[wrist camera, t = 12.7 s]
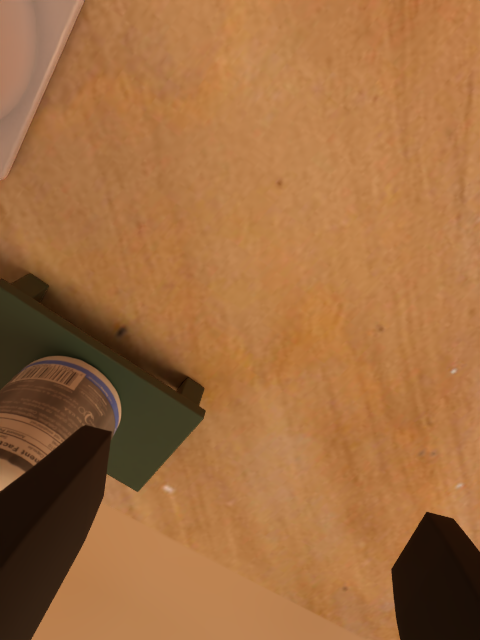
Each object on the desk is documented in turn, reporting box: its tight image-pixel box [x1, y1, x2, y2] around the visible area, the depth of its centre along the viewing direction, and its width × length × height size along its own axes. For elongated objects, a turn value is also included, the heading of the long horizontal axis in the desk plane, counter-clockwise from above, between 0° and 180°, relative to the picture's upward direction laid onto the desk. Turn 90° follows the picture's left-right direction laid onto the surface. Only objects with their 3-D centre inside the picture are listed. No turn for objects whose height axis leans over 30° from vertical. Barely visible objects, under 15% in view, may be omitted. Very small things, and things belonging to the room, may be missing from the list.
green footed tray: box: [0, 273, 206, 492], centre depth 20 cm, size 10×6×2 cm, turn 54°
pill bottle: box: [0, 356, 121, 491], centre depth 15 cm, size 5×5×8 cm
